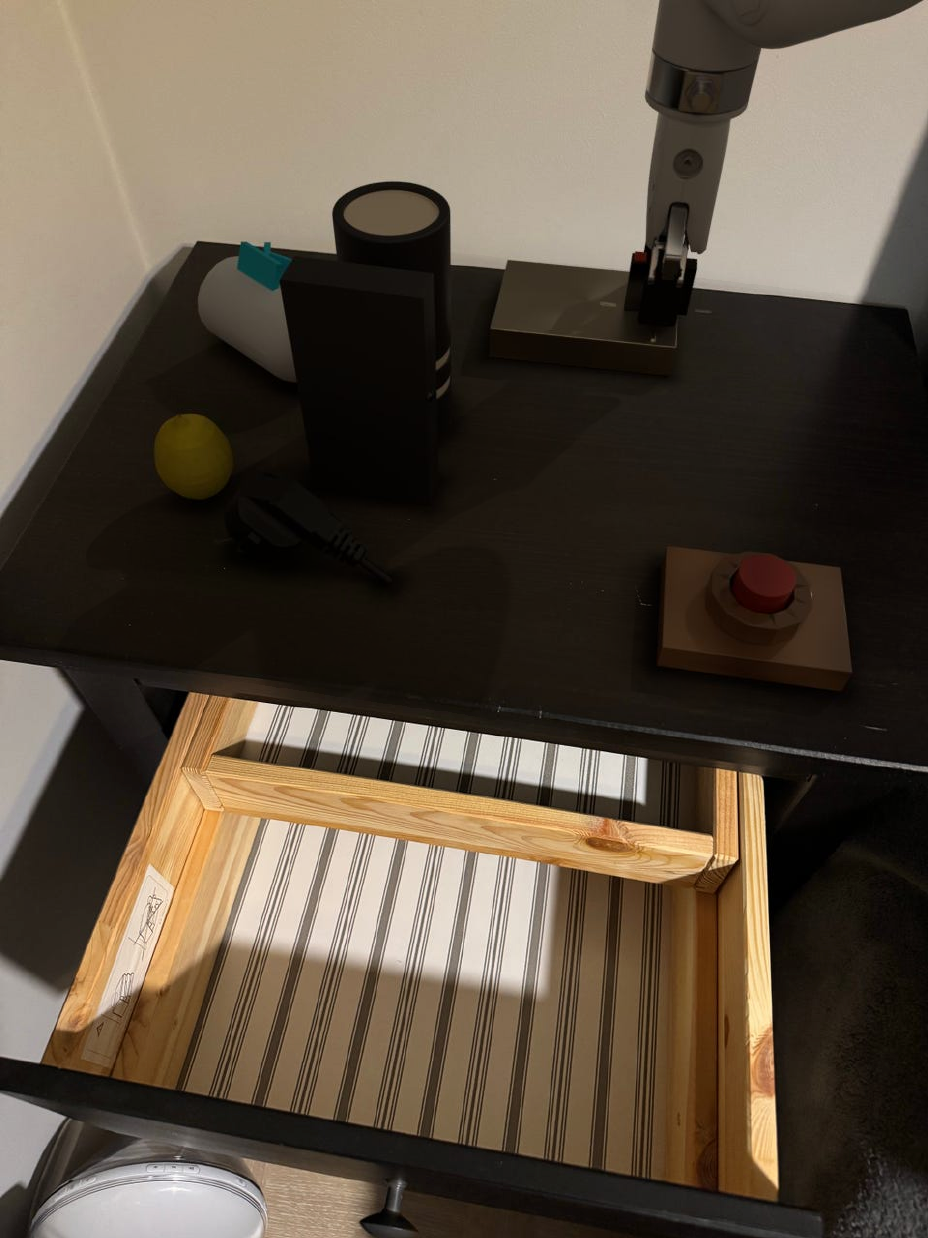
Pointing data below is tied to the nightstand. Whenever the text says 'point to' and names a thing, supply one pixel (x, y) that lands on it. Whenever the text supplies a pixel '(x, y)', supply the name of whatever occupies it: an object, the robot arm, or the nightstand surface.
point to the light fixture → (376, 343)
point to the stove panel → (576, 321)
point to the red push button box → (751, 623)
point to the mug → (250, 307)
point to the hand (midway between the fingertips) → (658, 291)
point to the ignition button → (763, 583)
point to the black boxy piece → (641, 270)
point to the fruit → (193, 456)
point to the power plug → (289, 523)
